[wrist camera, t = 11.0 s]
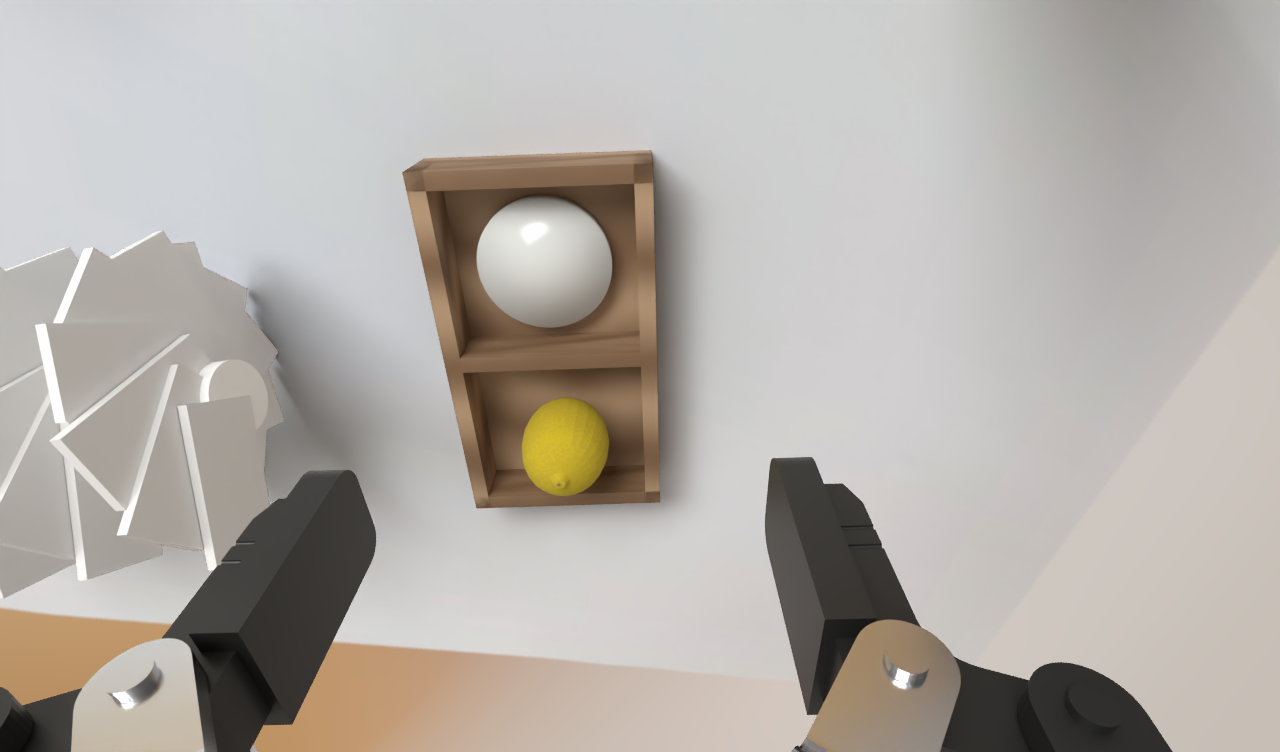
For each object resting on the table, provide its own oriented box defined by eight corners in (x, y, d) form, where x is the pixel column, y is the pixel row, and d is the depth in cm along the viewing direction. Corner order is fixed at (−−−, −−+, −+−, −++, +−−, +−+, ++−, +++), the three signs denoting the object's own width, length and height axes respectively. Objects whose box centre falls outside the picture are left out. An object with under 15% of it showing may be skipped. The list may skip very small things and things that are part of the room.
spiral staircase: (-9, 296, 43) (317, 244, 40) (42, 538, 44) (362, 504, 41) (-529, 276, 25) (-2, 179, 22) (-418, 687, 26) (94, 646, 23)
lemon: (577, 362, 41) (566, 430, 34) (626, 417, 43) (625, 493, 36) (514, 403, 42) (492, 477, 35) (565, 455, 44) (553, 534, 37)
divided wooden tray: (424, 158, 35) (402, 172, 31) (650, 150, 35) (652, 163, 31) (487, 473, 46) (476, 508, 43) (657, 468, 46) (660, 502, 43)
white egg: (470, 195, 35) (465, 201, 34) (608, 190, 35) (608, 195, 34) (491, 321, 39) (488, 329, 38) (616, 317, 39) (615, 325, 38)
